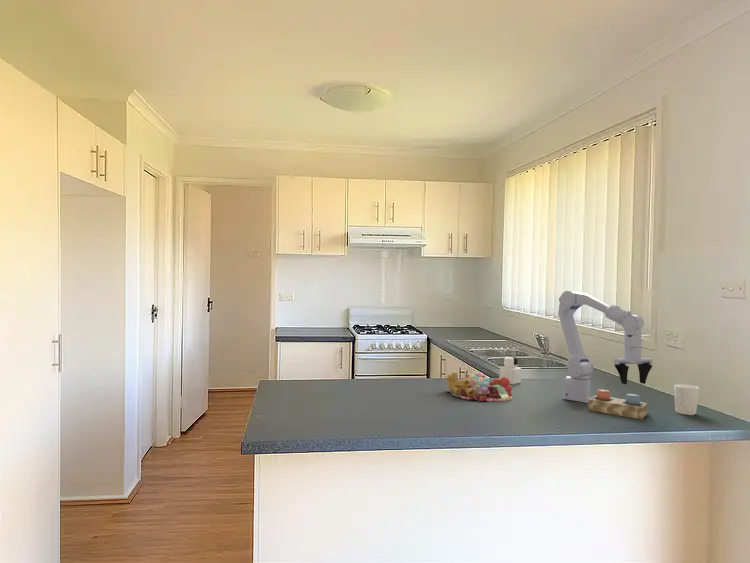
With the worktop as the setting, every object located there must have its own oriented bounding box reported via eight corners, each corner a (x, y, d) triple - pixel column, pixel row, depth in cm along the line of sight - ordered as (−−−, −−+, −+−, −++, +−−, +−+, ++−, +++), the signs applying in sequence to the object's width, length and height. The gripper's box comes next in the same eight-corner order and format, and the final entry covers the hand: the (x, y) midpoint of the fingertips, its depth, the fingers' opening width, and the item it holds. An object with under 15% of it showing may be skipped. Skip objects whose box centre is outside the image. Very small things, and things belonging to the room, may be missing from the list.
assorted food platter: (468, 404, 195) (469, 380, 195) (436, 391, 216) (437, 369, 216) (521, 400, 205) (522, 377, 205) (485, 387, 227) (486, 366, 226)
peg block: (588, 409, 192) (588, 399, 192) (594, 405, 200) (595, 394, 200) (641, 419, 182) (642, 407, 181) (646, 413, 190) (647, 402, 190)
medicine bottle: (507, 380, 243) (508, 355, 243) (521, 383, 238) (522, 357, 238) (498, 382, 238) (500, 356, 238) (512, 385, 233) (513, 358, 233)
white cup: (701, 416, 189) (702, 389, 189) (678, 414, 190) (679, 387, 190) (692, 411, 197) (693, 384, 197) (669, 409, 198) (671, 383, 198)
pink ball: (595, 400, 193) (595, 390, 193) (598, 398, 197) (598, 389, 197) (608, 402, 191) (608, 392, 191) (610, 400, 194) (611, 390, 194)
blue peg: (624, 405, 187) (625, 395, 187) (627, 403, 191) (627, 393, 191) (638, 407, 185) (638, 397, 185) (640, 405, 188) (640, 395, 188)
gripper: (622, 348, 188) (622, 385, 188) (657, 347, 190) (658, 384, 190) (610, 346, 195) (610, 382, 195) (644, 345, 197) (645, 381, 197)
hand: (633, 383), depth 193 cm, fingers open, 7 cm apart
